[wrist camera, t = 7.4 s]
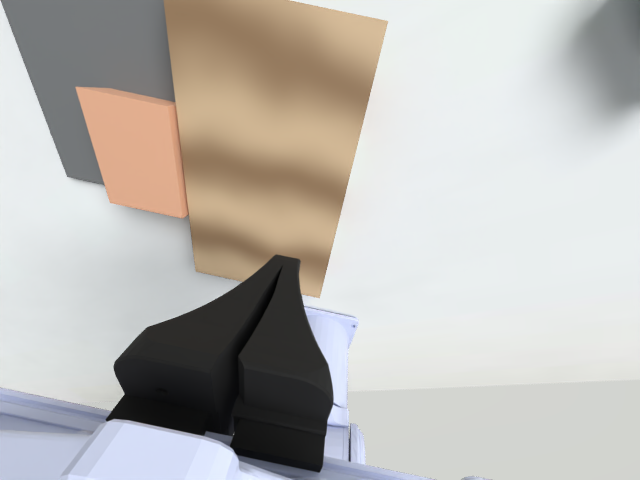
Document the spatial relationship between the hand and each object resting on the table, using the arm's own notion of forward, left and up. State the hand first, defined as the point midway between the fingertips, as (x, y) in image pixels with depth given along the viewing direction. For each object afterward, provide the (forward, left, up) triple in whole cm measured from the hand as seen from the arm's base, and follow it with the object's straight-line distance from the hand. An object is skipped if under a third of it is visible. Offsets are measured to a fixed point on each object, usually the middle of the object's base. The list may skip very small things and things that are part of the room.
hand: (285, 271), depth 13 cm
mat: (+5, +16, -9) cm, 19 cm away
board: (+2, +4, -9) cm, 10 cm away
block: (+2, +13, -9) cm, 16 cm away
